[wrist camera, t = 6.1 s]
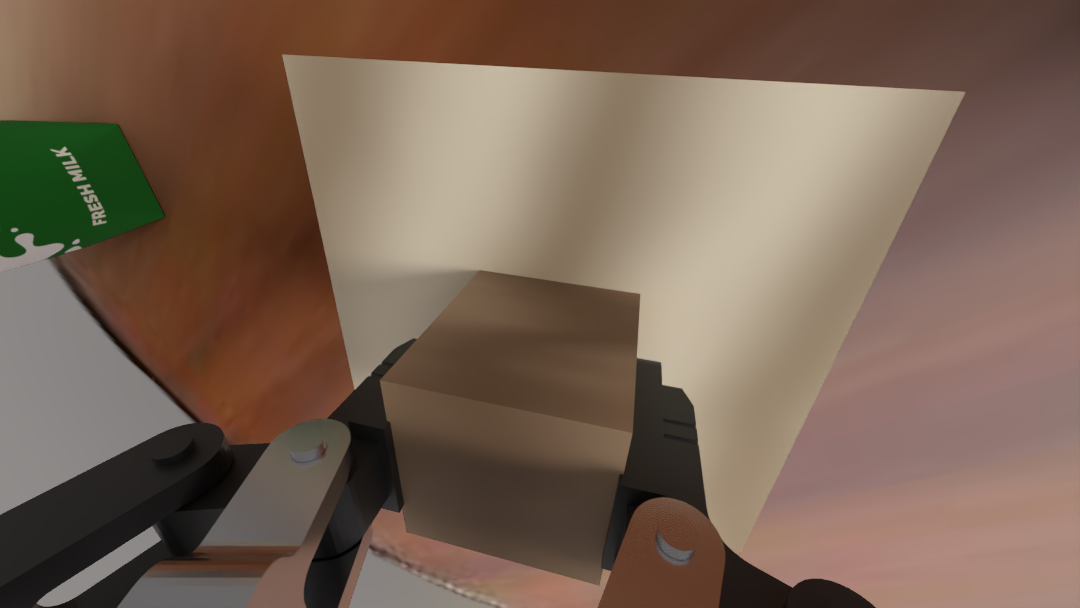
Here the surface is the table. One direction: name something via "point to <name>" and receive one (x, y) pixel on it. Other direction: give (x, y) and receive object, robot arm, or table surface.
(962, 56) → the table surface
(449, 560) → the table surface
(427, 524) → the birch lid
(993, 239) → the table surface
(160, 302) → the table surface
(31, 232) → the milk carton
